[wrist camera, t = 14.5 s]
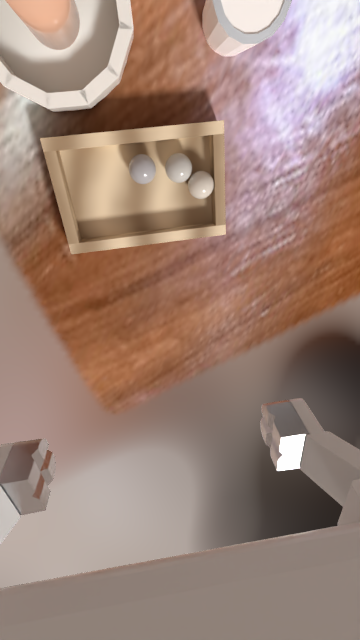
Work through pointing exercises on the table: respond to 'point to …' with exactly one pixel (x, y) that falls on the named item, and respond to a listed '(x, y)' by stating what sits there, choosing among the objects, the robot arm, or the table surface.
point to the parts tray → (135, 186)
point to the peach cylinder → (49, 20)
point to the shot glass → (241, 23)
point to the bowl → (67, 57)
